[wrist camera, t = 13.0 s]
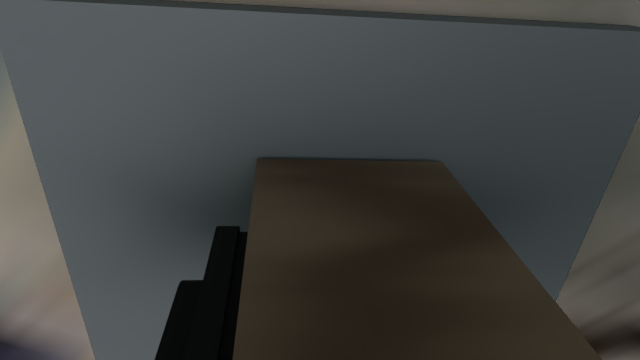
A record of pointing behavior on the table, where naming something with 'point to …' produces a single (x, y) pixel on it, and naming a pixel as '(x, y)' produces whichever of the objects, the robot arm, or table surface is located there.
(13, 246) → the table surface
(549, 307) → the walnut block
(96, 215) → the slate board
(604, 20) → the table surface
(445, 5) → the table surface
